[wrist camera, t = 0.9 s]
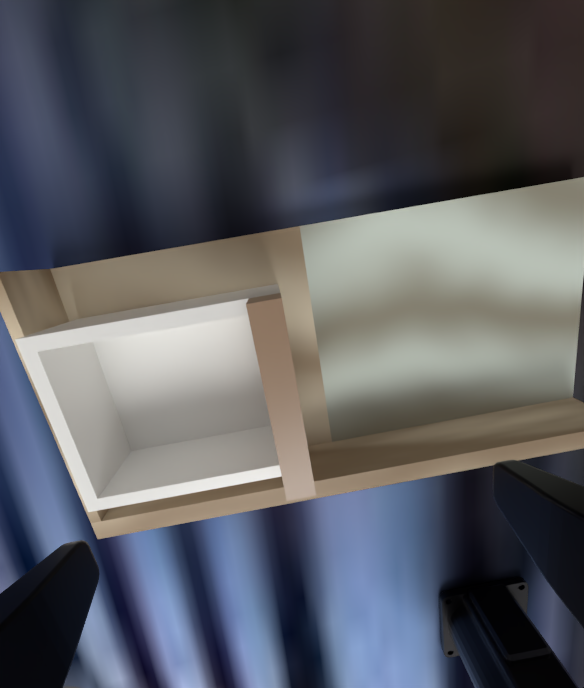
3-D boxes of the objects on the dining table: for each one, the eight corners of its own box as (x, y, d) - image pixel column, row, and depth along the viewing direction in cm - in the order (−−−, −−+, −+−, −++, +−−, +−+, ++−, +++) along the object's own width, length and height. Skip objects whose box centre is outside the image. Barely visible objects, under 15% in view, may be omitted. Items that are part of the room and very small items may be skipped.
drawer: (302, 424, 18) (316, 495, 13) (127, 456, 18) (67, 542, 13) (277, 283, 16) (281, 298, 10) (78, 318, 16) (-21, 351, 10)
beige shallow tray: (556, 404, 20) (625, 440, 16) (131, 483, 20) (97, 539, 16) (573, 180, 16) (665, 157, 13) (53, 270, 16) (-16, 274, 12)
